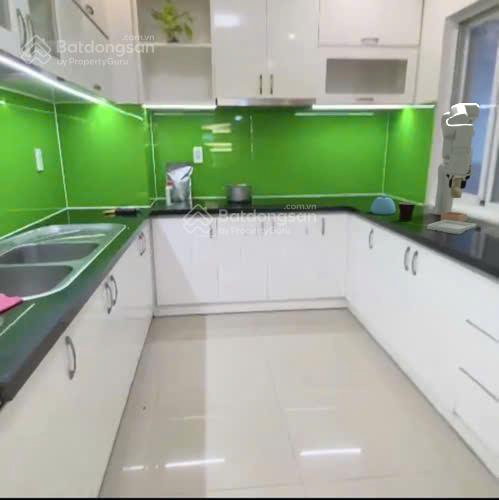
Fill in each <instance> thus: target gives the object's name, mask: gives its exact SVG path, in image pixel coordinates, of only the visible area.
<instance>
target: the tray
mask: <svg viewBox="0 0 499 500" xmlns="http://www.w3.org/2000/svg"><path fill="white" fill-rule="evenodd" d="M476 227H477V223H473V222H472V223H471V222H466V221H465V222H459V221H452V220H443V221H435V222H432V223H429V224H427V230H429V229H430V230H429V231H435V230H437V231H436V232H441V231H442V232H441V233H449V234H452V235H460V234H464V233H467V232H468V230H470V229H473V228H476Z"/></svg>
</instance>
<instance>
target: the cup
mask: <svg viewBox="0 0 499 500" xmlns="http://www.w3.org/2000/svg"><path fill="white" fill-rule="evenodd" d="M467 215H468V214H467V213H463V212H456V211H455V212H454V211H452V212H446V213H442V214H441V215H440V221H443V220H452V221H459V222H466V221H467Z"/></svg>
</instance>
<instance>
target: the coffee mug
mask: <svg viewBox="0 0 499 500" xmlns="http://www.w3.org/2000/svg"><path fill="white" fill-rule="evenodd" d="M415 205H416V204H415V203H414V202H407V201H406V202H404V201H402V202H398V220H399V222H405V223H406V222H407V223H408V222H409V221H411V220H412V219H413V218H412V217H413V214H414V210H415V207H416V206H415Z"/></svg>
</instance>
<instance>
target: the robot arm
mask: <svg viewBox="0 0 499 500" xmlns="http://www.w3.org/2000/svg"><path fill="white" fill-rule="evenodd" d="M480 113H481V108H480V105H479V104H477V103H457V104H455V105H452V106H451V108H450V109H449V111H448V112H446V113H444V114H442V115H441V118H440V126H441V127H440V128H441V130H442V131H441V133H442V138H443V140H442V141H443V142H442V151H441V157H442V159H443V160H445V161H448V162H442V163H440V164H439V165H438V167H437V184H436V185H437V186H436V195H435V202H434V206H429V207H428V210H429V211H431V214H433V215H436V216H437V215H439V216H441V214H442V213H446V212H453V211H452V210H453V205H454V203H453V202H454V198H451V197H450V194H451V186H452V179H453V177H463V181H461V189H462V190H464V189H466V186H467V181H468V180H469V179H470V178H472V177H473V176H474V175H476V173H475V171H474V170H473V168H472V165H473V146H472V143H473V137H474V136H475V134H476V133H475V132H476V128H475V126H474V125H475V123H476V122H477V121H478V119H479V116H480Z"/></svg>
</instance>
